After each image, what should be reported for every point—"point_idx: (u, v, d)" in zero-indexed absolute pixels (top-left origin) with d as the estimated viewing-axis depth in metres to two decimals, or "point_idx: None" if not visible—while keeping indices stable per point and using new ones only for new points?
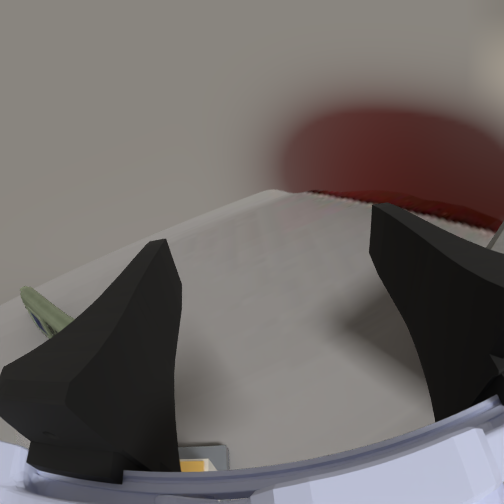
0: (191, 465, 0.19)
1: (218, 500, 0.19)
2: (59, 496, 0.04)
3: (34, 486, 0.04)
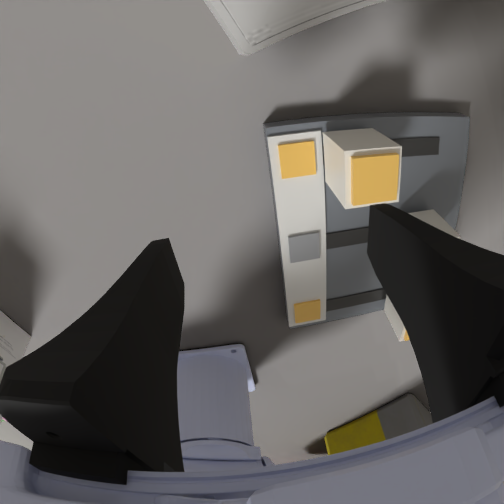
0: None
1: None
2: (59, 496, 0.04)
3: (34, 486, 0.04)
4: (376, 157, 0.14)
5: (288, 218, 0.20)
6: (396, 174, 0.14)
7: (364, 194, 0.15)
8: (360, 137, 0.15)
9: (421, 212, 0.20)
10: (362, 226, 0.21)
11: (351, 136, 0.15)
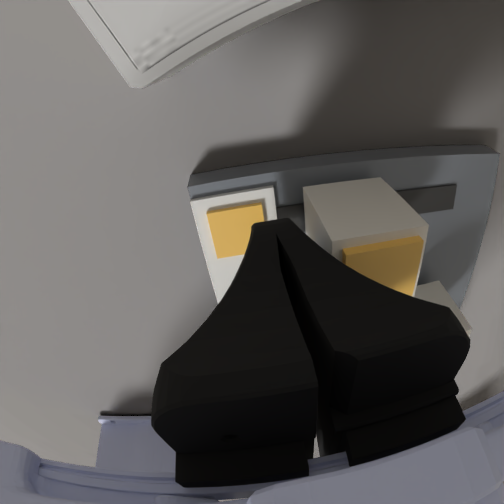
0: None
1: None
2: (59, 496, 0.04)
3: (34, 486, 0.04)
4: (385, 249, 0.08)
5: None
6: (415, 269, 0.09)
7: None
8: (361, 201, 0.10)
9: (422, 287, 0.14)
10: None
11: (347, 198, 0.10)
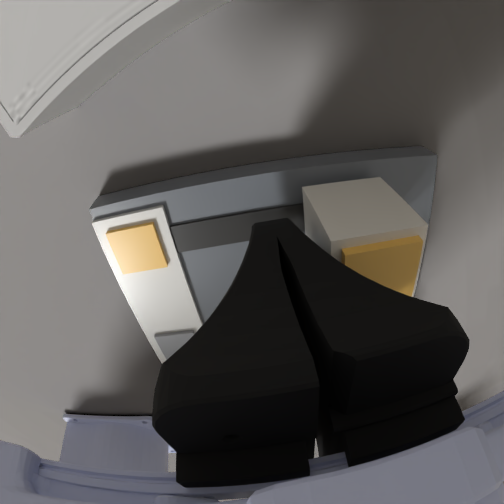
0: None
1: None
2: (59, 496, 0.04)
3: (34, 486, 0.04)
4: (384, 249, 0.08)
5: (149, 316, 0.14)
6: (414, 269, 0.09)
7: None
8: (361, 201, 0.10)
9: None
10: None
11: (346, 198, 0.10)
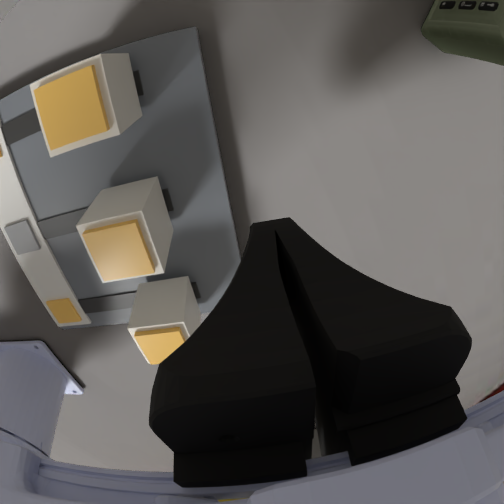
0: None
1: None
2: (59, 496, 0.04)
3: (34, 486, 0.04)
4: (59, 79, 0.08)
5: None
6: (94, 93, 0.09)
7: (59, 132, 0.09)
8: None
9: (134, 182, 0.14)
10: (72, 210, 0.15)
11: None
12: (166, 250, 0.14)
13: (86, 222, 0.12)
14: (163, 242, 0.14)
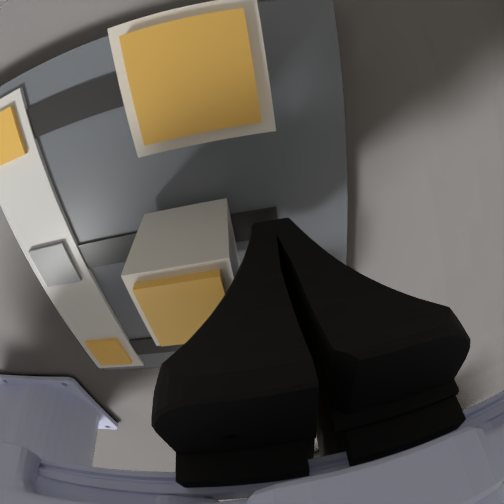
0: None
1: None
2: (59, 496, 0.04)
3: (34, 486, 0.04)
4: (177, 21, 0.05)
5: (20, 224, 0.11)
6: (245, 56, 0.05)
7: (165, 114, 0.06)
8: None
9: (193, 206, 0.11)
10: (132, 231, 0.12)
11: None
12: None
13: (138, 271, 0.08)
14: None
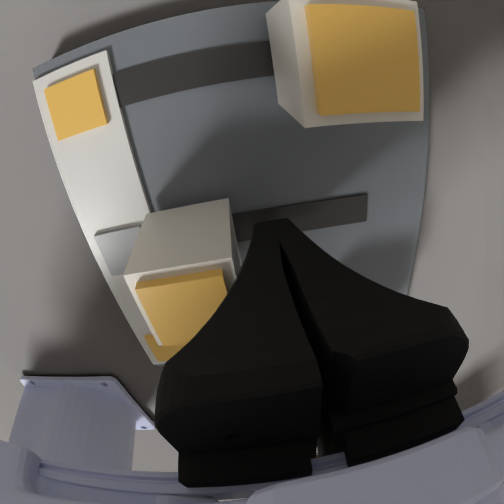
0: None
1: None
2: (59, 496, 0.04)
3: (34, 486, 0.04)
4: (363, 7, 0.05)
5: (87, 204, 0.11)
6: (414, 52, 0.05)
7: (346, 89, 0.06)
8: None
9: (195, 206, 0.11)
10: None
11: None
12: None
13: (140, 271, 0.08)
14: None
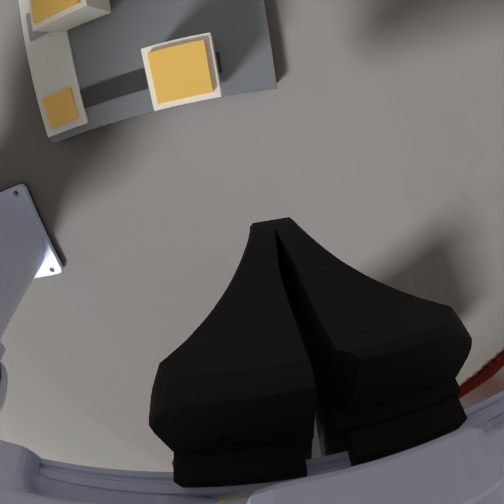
0: (201, 75, 0.12)
1: None
2: (59, 496, 0.04)
3: (34, 486, 0.04)
4: None
5: None
6: None
7: None
8: None
9: None
10: None
11: None
12: (96, 4, 0.10)
13: None
14: None
